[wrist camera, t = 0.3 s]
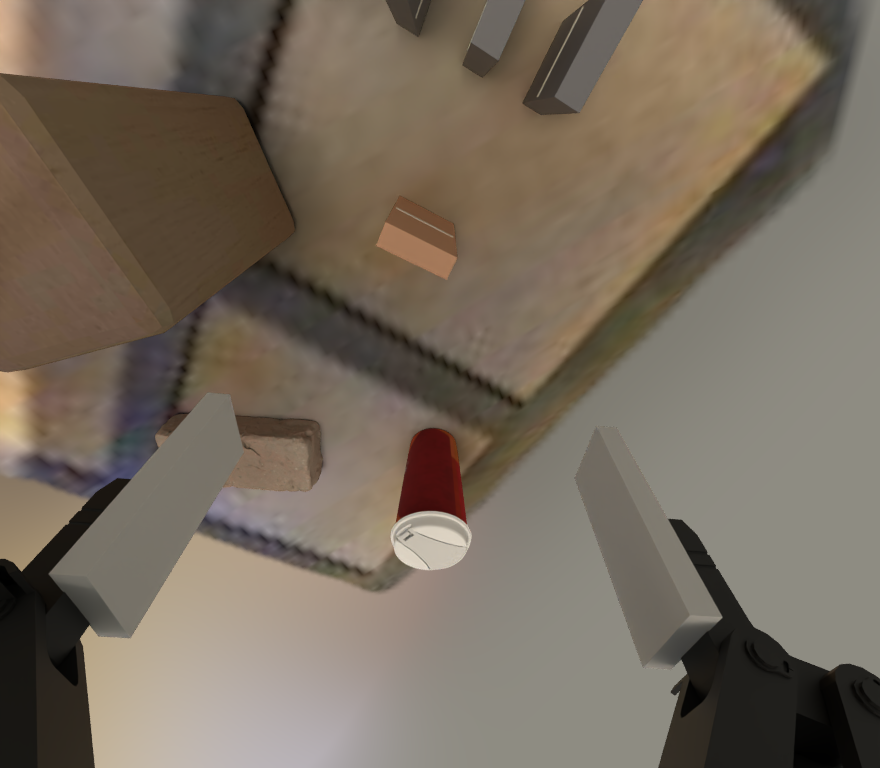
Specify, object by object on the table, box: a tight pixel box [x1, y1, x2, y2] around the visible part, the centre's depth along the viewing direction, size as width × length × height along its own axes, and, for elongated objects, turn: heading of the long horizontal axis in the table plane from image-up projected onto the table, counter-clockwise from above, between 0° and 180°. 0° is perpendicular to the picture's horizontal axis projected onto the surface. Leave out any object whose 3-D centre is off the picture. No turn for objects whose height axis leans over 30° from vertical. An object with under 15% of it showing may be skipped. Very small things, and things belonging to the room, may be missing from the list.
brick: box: [155, 414, 323, 492], centre depth 46 cm, size 16×8×5 cm, turn 86°
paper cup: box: [390, 428, 472, 570], centre depth 42 cm, size 8×8×14 cm
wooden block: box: [0, 73, 295, 372], centre depth 24 cm, size 10×10×20 cm
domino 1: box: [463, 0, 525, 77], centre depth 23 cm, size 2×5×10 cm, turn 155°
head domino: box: [376, 196, 458, 280], centre depth 29 cm, size 2×5×10 cm, turn 64°
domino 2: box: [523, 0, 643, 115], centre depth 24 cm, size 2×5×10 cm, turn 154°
